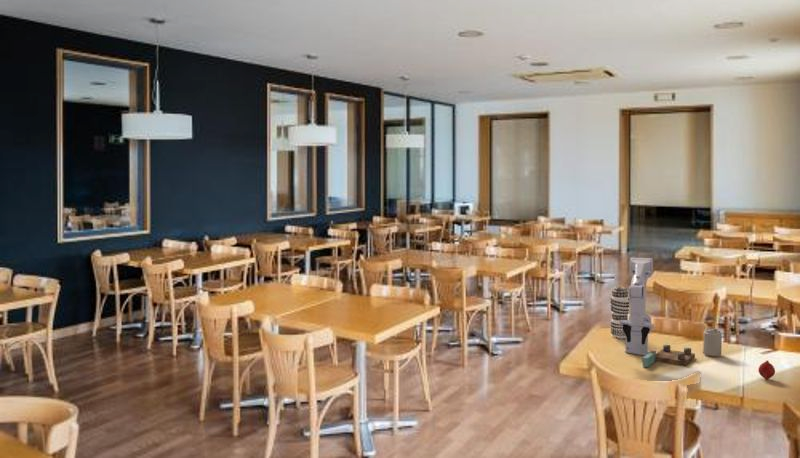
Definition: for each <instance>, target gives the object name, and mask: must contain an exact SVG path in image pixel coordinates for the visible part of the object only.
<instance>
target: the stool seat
mask: <svg viewBox="0 0 800 458" xmlns="http://www.w3.org/2000/svg"><path fill="white" fill-rule="evenodd" d="M695 357H696V353H693V352H692V348H691V347H684V348H683V351H679V350H673V349H671V345H670V344H663V347H662V349H661V350H659V351H658V352H656V362H659V363H666V364H672V365H675V366H676V365H678V366H683V367H687V366H688V365H690V363H691V362H692V361H693V360H694V359H696V358H695Z"/></svg>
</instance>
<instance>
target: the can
mask: <svg viewBox="0 0 800 458" xmlns="http://www.w3.org/2000/svg"><path fill="white" fill-rule="evenodd" d="M722 338H723V334H722V332H721V329H720V328H716V327H707V328H705V329H704V331H703V344H702V345H703V346H702V347H703V348H702V353H703V354H704V355H705V356H707V357H711V358H717V357H716V356H718V357H720V356H721V355H722V348H723V347H722V343H723V341H722V340H723V339H722Z"/></svg>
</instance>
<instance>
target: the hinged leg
mask: <svg viewBox="0 0 800 458" xmlns="http://www.w3.org/2000/svg"><path fill="white" fill-rule="evenodd" d="M656 354H657V352H656V350H650V352H649V353H648V354H647V355H643V357H642V367H644V368H648V367H650V366H652V365H653V364H654V363H656V362H657V361H656Z"/></svg>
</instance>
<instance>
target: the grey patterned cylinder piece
mask: <svg viewBox="0 0 800 458" xmlns="http://www.w3.org/2000/svg"><path fill="white" fill-rule="evenodd" d="M628 290H629V289H628V288H627V287H625V286H618V285H617V286H615V287H613V289H611V297H610V299H609V300H610V304H611V305H610V307H611V308H610V310H611V312H610V314H611V322H610V324H611V325H610V327H611V328H610V337H612V336H613V338H616V337H617V339H626V335H625V332H624V330H623V329H622V327H623V325H619V321H620V320H629V316H628V315H630V302H629V295H628ZM628 308H629V309H628Z"/></svg>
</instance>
